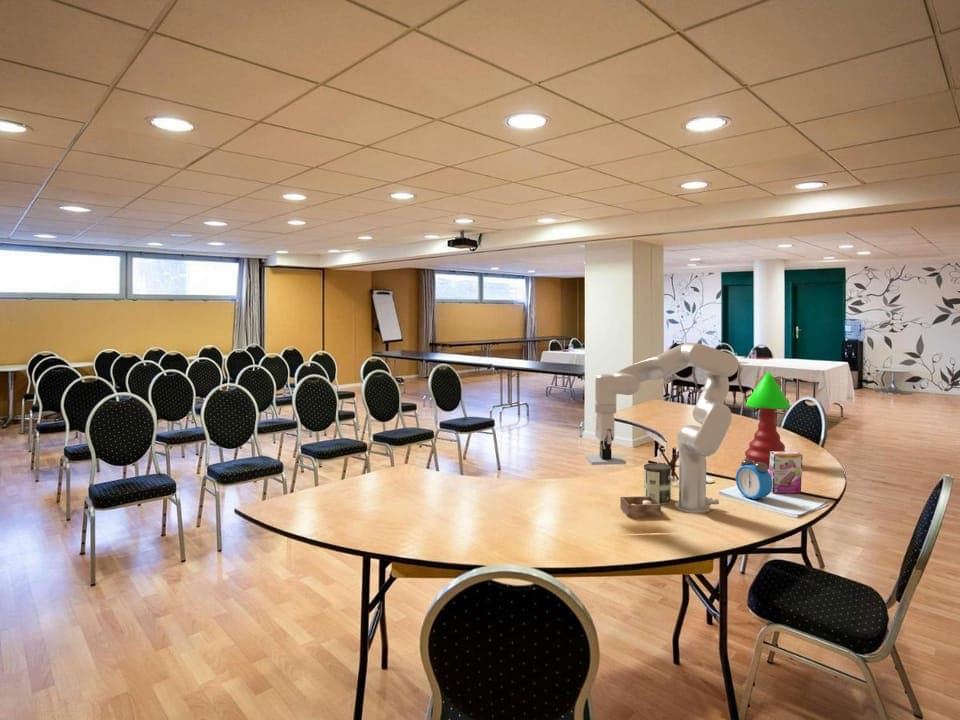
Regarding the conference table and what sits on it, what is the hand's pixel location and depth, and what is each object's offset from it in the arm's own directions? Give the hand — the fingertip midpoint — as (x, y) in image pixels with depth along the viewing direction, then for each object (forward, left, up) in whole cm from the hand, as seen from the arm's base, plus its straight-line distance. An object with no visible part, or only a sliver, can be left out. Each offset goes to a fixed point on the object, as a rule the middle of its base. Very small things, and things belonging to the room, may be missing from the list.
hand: (605, 457), depth 215 cm
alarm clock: (-63, -15, -22) cm, 68 cm away
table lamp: (-95, -66, -22) cm, 118 cm away
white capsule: (-15, 0, -21) cm, 26 cm away
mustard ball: (-10, 0, -21) cm, 23 cm away
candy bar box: (-79, -21, -22) cm, 85 cm away
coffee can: (-24, -14, -22) cm, 35 cm away
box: (-13, 0, -21) cm, 25 cm away
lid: (0, 0, -1) cm, 1 cm away
